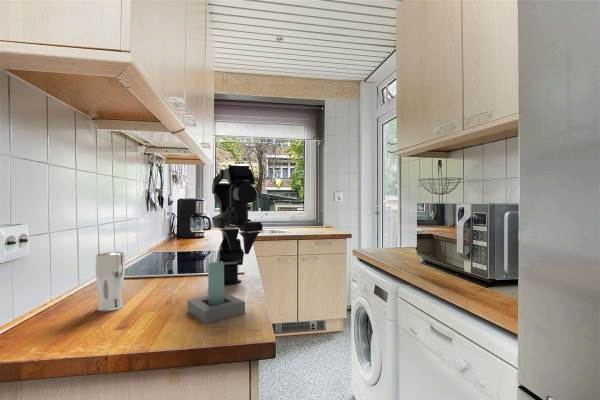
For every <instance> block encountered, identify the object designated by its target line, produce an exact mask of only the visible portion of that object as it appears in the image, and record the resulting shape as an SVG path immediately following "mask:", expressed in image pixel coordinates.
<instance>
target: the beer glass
mask: <svg viewBox="0 0 600 400" xmlns="http://www.w3.org/2000/svg"><path fill="white" fill-rule="evenodd" d="M95 257H96V258H95V278H96V284H97V285H96V286H97V290H98V296H99V297H98V298H99V299H98V304H97V311H99V312H104V313H105V312H113V311H117V310H120V309H121V308H123V307H124V303H123V299H122V297H123V296H122V290H123V285H124V284H123V283H124V279H125V271H126V265H125V264H126V261H125V253H124V252H123V251H109V252H108V251H107V252H101V253H97V254H96V256H95Z"/></svg>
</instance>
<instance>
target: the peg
mask: <svg viewBox="0 0 600 400" xmlns="http://www.w3.org/2000/svg"><path fill="white" fill-rule="evenodd" d="M207 271H208V273H207V275H208V277H207V278H208V279H207V281H208V282H207V283H208V289H207V290H208V292H207V293H208V295H207V296H208V305H209V306H215V305H219V304H223V303H224V293H225V285H224V263H223V262H216V261H213V262H208V265H207Z"/></svg>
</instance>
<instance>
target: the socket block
mask: <svg viewBox="0 0 600 400" xmlns="http://www.w3.org/2000/svg"><path fill="white" fill-rule="evenodd" d="M187 312H188V313H189V314H191V315H192V316H193V317H195V318H196V319H197V320H199V321H200V322H202V323H203V324H205V325H207V324H210V323H214V322H217V321H221V320H225V319H229V318H232V317H235V316H240V315H243V314H246V301H244V300H243V299H240V298H238V297H235V296H234V295H232V294H229V293H227V292H224V303H223V304H219V305H215V306H209V305H208V295H207V296H202V297H198V298H194V299H188V300H187Z"/></svg>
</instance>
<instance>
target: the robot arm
mask: <svg viewBox="0 0 600 400" xmlns="http://www.w3.org/2000/svg"><path fill="white" fill-rule="evenodd" d="M222 180H227V181H222ZM255 183H256V179H255V176H254V172H253V171H252V168H251V167H250V165H249V164H243V163H241V164H240V163H239V164H238V163H229V164H228V165H227V166H226V167H225V168H219V172H218V174H217V175H216V176H215V177H214V178H213V179H212V185H211V193H212V194H213V198H214V201H215V202H216V203H217V204H218V206H219V214H217V215H214V216H212V217H211V220H212V223H213V226H214V228H217V229H219V231H220V232H221V235H222V240H221V243H220V244H219V248H218V250H217V254H216V260H215V262H223V263H224V286H228V285H234V284H237V283H238V284H239V283H242V280H241V279H239V271H238V269H239V267H238V266H243V264H244V256H245V255H249V254H250V252H251V249H252V247H253V245H254V243H255V241H256V239H257V237H258V235H259V234H261V232H263V224H262V222H261V221H255V220H253V221H252V220H251V219H250V218H249V210H250V211H251V209H252V208H251V207H252V206H249V204H251V203H253V202H254V201H255V200H256V199H257V196H258V191H257V189H256V187H255V186H254V185H255ZM239 235H240V236H241V237H242V241H243V248H242V245H241V240H240V238H238V236H239Z"/></svg>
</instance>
